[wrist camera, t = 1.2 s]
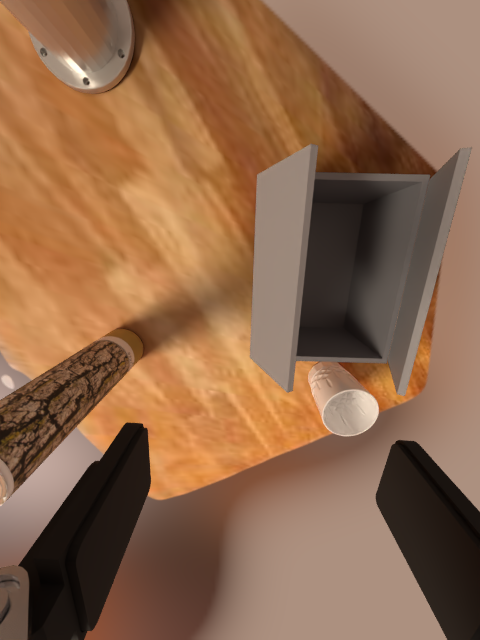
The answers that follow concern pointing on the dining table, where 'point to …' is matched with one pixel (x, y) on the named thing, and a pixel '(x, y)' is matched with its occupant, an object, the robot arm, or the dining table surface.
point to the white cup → (342, 399)
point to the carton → (357, 264)
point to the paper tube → (59, 404)
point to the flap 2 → (425, 266)
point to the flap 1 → (281, 262)
